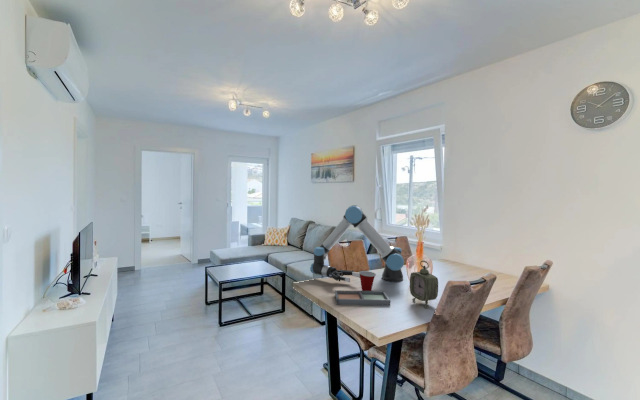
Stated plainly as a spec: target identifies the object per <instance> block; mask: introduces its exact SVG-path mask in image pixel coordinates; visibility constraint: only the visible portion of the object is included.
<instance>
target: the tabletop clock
mask: <svg viewBox="0 0 640 400" xmlns="http://www.w3.org/2000/svg"><path fill="white" fill-rule="evenodd" d="M419 263H420V267H421V269H420V270H419V271H417V272H416V271H415V272H413V271H412V272H411V273H410V276H409V293H410V295H411V296H412V297H414V298H412V301H413V302H416V299H417V300H419V301H421V302H424V303H425V305H424V307H425V309H427V308H429V307H428V303H429V302H428V301H434V300H437V298H438V296H439V279H438V277H437V276H435V275H434V274H432V273H430V272H429V269H428V268H429V267H430V266H429V265H430V264H429V263H428V262H427V261H426V260H421V261H420V262H419ZM422 263H425V264H426V265H427V267H426V265H422Z"/></svg>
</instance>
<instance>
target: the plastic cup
mask: <svg viewBox="0 0 640 400" xmlns="http://www.w3.org/2000/svg"><path fill="white" fill-rule="evenodd" d="M358 273H359V274H360V278H359V279H360V286H361V291H373V290H372V289H373V285H374V282H375V281H374V280H375V277H376V276H377V274H376V273H375V272H372V271H368V270H361V271H360V270H359V272H358Z"/></svg>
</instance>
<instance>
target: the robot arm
mask: <svg viewBox="0 0 640 400" xmlns="http://www.w3.org/2000/svg"><path fill="white" fill-rule="evenodd" d="M351 226H353V228H355V229H358V230H359V231H360V232H361V233H362V235H363V236H364V237H365V238H366V239H367V240H368V241H369V243H370V244H371V245H372V247H374V248H375V249H376V251H377V252H378V253H379V254H380V259H382V261H383V262H384V269H383V272H382V275H381V278H382V279H383V280H385V281H388V282H402V281H403V280H404V274H403V271H402V269H403V267H404V264H405V260H404V257H403V256H402V248H401V247H395V246H391V245H390V244H389V243H388V242H387V241H386V240H385V238H384V237H383V236H382V235H381V234H380V232H379V231H377V229H376V228H375V227H374V225H372V224H371V223H370V221H369V220H368V216H367V215H366V213H364V211H363V209H362V208H361V207H360V206H359V205H351V206H349V207H347V209H346V210H345V213H344V215H343V216H342V220H341V221H340V222H339V223H338V224H337V226H336V227H335V228H334V229H333V230H332V232H331V233H330V234H329V235H328V236H327V238H326V239H325V240H324V241H323V242H322V244H321V245H320V246H317V247H314V248H313V263H311V265H310V267H309V268H310V270H309V271H310V272H311V273H312V274H314V275H317V276H323V277H325V278H330V279H333V280H335V281H337V282H341V281H343V282H346V283H351V278H350V277H349V276H352V277H355V278H359V279H360V274H359V272H356V271H354V270H352V269H351V270H349V269H337V268H336V267H335V266H329V265H325V257H326V256H327V254H328V253H329V252H330V251H331V249H333V247H334V246H335V245H336V244H337V242H338V241H339V240H340V239H341V238H342V236H343V235H345V233H346V232H347V231H348V229H349V228H350V227H351ZM347 276H348V277H347Z"/></svg>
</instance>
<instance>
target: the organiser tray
mask: <svg viewBox="0 0 640 400" xmlns="http://www.w3.org/2000/svg"><path fill="white" fill-rule="evenodd" d="M334 297H335V301H336V302H335V303H336V305H337V306H340V305H341V306H391V299H390V298H389V296H388V294H387V293H386V292H385V290H371V291H362V290H345V289H343V290H337V289H336V290H334Z"/></svg>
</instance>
